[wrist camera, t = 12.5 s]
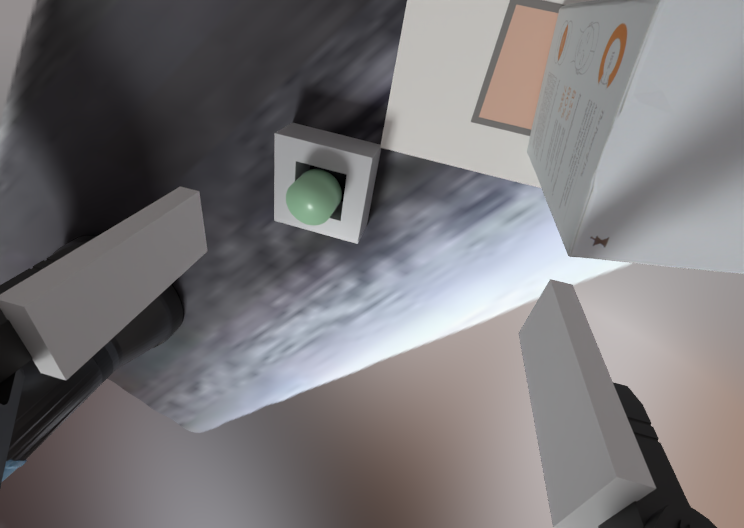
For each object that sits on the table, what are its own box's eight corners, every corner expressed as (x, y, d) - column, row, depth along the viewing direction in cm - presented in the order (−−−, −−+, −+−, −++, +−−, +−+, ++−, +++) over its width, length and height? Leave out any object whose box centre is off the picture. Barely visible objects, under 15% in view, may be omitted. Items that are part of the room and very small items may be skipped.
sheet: (381, 144, 26) (380, 147, 26) (427, -102, 19) (426, -105, 18) (588, 197, 25) (590, 200, 24) (730, -46, 17) (737, -47, 17)
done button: (297, 205, 28) (285, 218, 26) (299, 163, 26) (286, 174, 24) (339, 216, 27) (329, 230, 26) (344, 175, 25) (334, 187, 24)
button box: (289, 204, 31) (274, 220, 29) (292, 122, 27) (274, 133, 25) (366, 225, 30) (357, 243, 28) (381, 144, 26) (372, 158, 24)
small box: (631, 159, 23) (764, 283, 12) (524, 153, 24) (562, 261, 13) (695, -1, 18) (1000, -22, 8) (558, 2, 19) (658, -13, 9)
